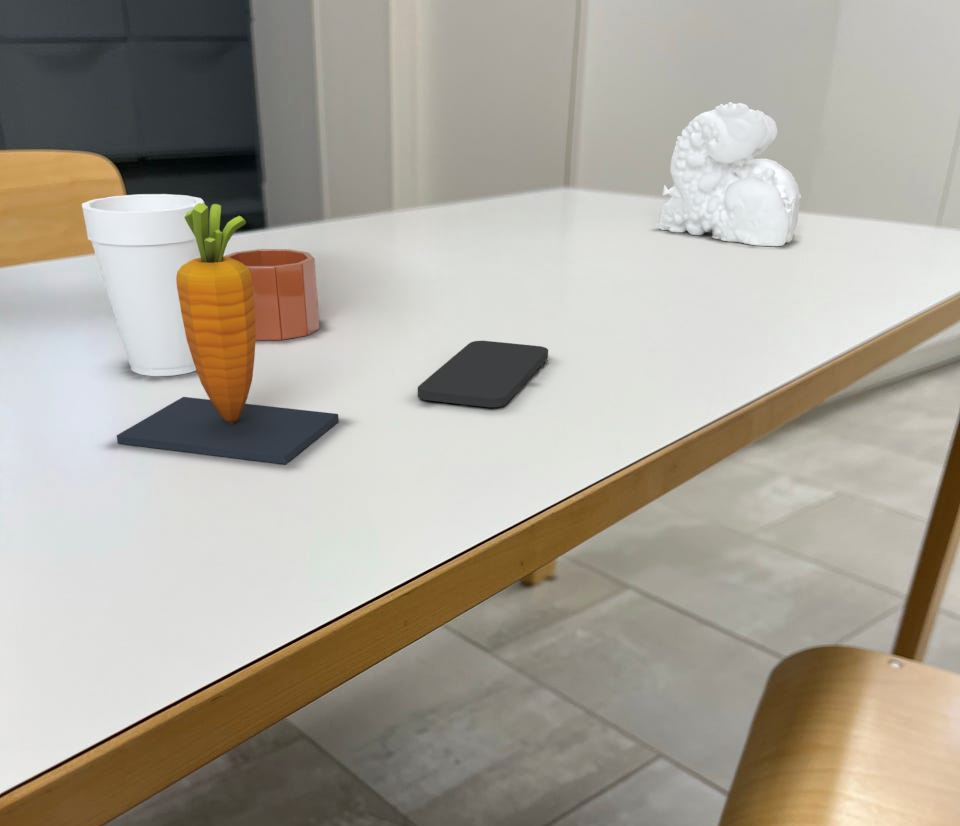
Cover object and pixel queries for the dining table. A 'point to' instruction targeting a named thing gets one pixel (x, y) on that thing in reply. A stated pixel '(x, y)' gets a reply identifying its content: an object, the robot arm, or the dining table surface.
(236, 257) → the holder
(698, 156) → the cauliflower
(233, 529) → the dining table surface
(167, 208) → the foam cup
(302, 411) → the mat
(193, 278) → the carrot
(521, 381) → the phone
